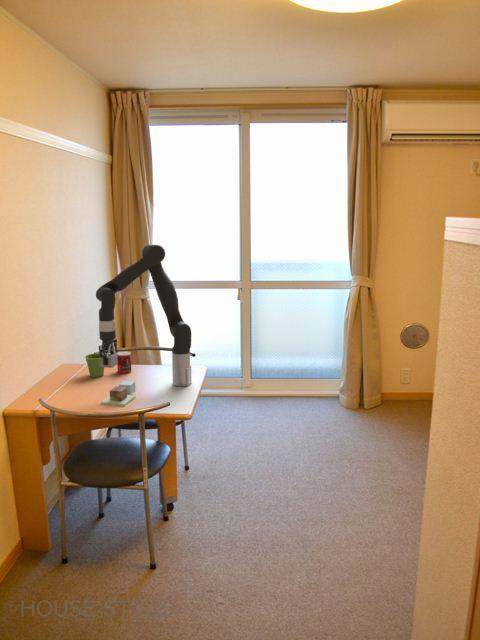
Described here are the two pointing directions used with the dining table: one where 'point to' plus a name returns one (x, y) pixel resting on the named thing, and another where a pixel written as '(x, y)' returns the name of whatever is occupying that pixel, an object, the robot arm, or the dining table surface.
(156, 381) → the dining table surface
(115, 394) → the walnut block
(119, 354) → the canned food
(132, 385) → the blue block
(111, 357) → the grey block
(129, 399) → the plate
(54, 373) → the dining table surface
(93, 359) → the plant pot
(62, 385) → the dining table surface
